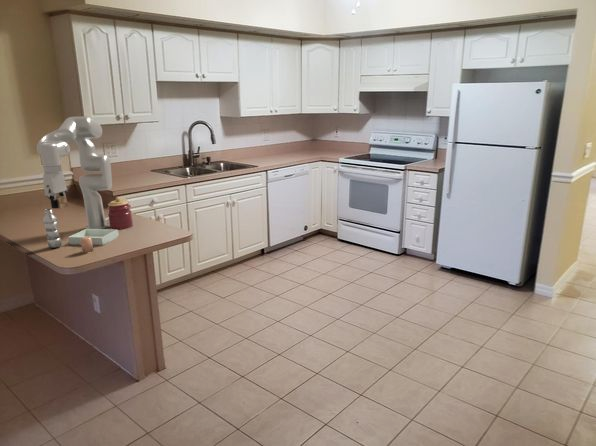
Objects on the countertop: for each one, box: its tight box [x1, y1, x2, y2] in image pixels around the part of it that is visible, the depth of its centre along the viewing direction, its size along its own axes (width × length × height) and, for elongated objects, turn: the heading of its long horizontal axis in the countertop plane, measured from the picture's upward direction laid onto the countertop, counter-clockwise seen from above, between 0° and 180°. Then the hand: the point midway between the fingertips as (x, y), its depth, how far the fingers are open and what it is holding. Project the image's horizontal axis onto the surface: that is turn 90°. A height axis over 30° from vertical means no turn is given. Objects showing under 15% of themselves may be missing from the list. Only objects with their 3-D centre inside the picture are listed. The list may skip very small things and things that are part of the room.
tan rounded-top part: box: [80, 237, 94, 254], centre depth 229 cm, size 5×5×7 cm
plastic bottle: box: [42, 208, 63, 249], centre depth 236 cm, size 6×7×20 cm
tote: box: [67, 228, 120, 246], centre depth 247 cm, size 15×20×4 cm
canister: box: [106, 196, 134, 230], centre depth 269 cm, size 13×13×18 cm
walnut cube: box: [49, 195, 68, 210], centre depth 224 cm, size 5×5×5 cm
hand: (59, 206), depth 225 cm, fingers closed on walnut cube, 5 cm apart
